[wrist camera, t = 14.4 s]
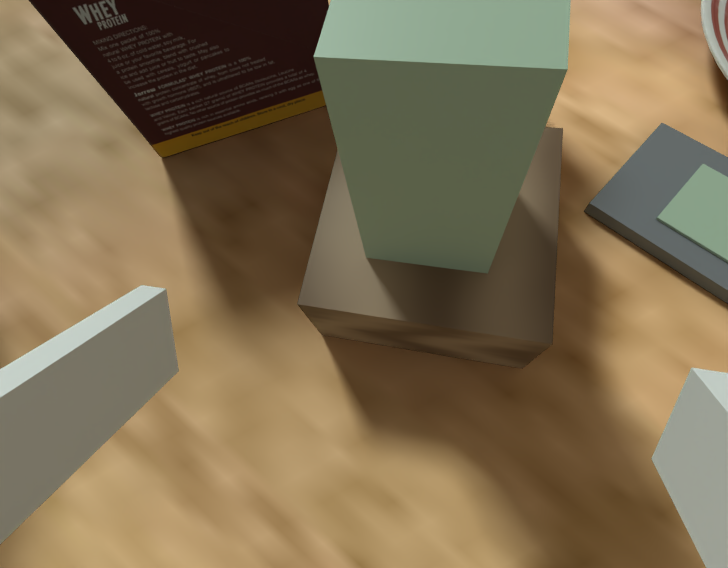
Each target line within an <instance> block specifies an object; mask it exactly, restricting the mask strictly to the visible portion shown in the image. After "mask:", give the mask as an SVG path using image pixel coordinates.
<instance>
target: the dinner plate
mask: <svg viewBox="0 0 728 568" xmlns="http://www.w3.org/2000/svg"><path fill="white" fill-rule="evenodd" d="M701 18H702V27H703V31H704V34H705V37H706V40H707V43H708V46H709V49H710V51H711V53H712V55H713V57H714V59H715V61H716V63H717V65H718V66H719V68H720V70H721V71H722V73H723V74H724V76H725V77H726V79H727V80H728V0H701Z"/></svg>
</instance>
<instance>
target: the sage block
mask: <svg viewBox="0 0 728 568" xmlns="http://www.w3.org/2000/svg"><path fill="white" fill-rule="evenodd" d="M569 24H570V0H331V2H330V5H329V8H328V12H327V15H326V18H325V21H324V25H323V28H322V31H321V34H320V38H319V41H318V44H317V47H316V51H315V54H314V60H315V64H316V68H317V72H318V76H319V79H320V83H321V87H322V91H323V95H324V99H325V102H326V106H327V110H328V114H329V118H330V122H331V125H332V129H333V133H334V137H335V141H336V144H337V148H338V152H339V156H340V160H341V164H342V167H343V171H344V175H345V179H346V183H347V187H348V190H349V194H350V198H351V202H352V206H353V209H354V213H355V217H356V221H357V225H358V229H359V232H360V236H361V240H362V244H363V248H364V252H365V255H366V258H372V259H380V260H388V261H395V262H403V263H411V264H418V265H426V266H434V267H441V268H449V269H457V270H464V271H472V272H480V273H487V274H488V272H489V269H490V267H491V264H492V261H493V259H494V256H495V254H496V251H497V249H498V246H499V243H500V241H501V238H502V236H503V233H504V231H505V228H506V226H507V223H508V220H509V218H510V215H511V213H512V210H513V208H514V205H515V203H516V200H517V197H518V195H519V192H520V190H521V187H522V185H523V182H524V179H525V177H526V174H527V172H528V169H529V167H530V164H531V162H532V159H533V156H534V154H535V151H536V149H537V146H538V144H539V141H540V139H541V136H542V133H543V131H544V128H545V126H546V123H547V121H548V118H549V116H550V113H551V110H552V108H553V105H554V103H555V100H556V98H557V95H558V92H559V90H560V87H561V85H562V82H563V80H564V77H565V75H566V72H567V69H568V47H569Z"/></svg>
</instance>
